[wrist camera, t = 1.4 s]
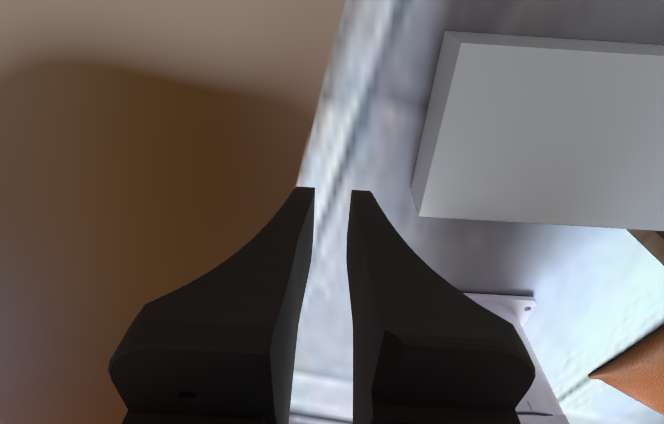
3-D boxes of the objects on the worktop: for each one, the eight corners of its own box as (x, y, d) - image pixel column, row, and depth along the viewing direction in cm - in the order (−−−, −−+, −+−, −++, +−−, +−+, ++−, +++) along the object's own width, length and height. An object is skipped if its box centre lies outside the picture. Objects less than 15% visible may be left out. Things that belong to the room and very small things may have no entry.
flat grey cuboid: (629, 201, 23) (663, 231, 20) (410, 188, 23) (418, 216, 20) (729, 49, 17) (791, 64, 15) (444, 30, 17) (461, 42, 15)
